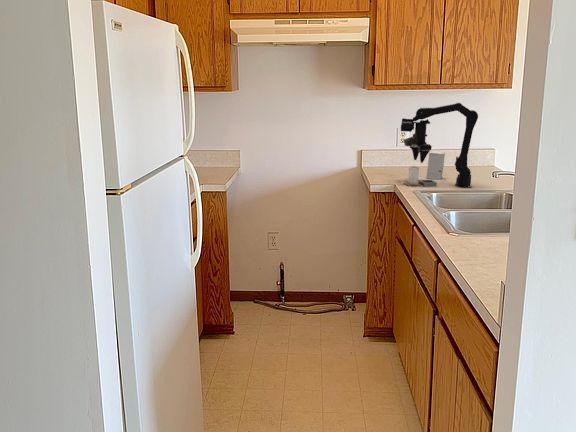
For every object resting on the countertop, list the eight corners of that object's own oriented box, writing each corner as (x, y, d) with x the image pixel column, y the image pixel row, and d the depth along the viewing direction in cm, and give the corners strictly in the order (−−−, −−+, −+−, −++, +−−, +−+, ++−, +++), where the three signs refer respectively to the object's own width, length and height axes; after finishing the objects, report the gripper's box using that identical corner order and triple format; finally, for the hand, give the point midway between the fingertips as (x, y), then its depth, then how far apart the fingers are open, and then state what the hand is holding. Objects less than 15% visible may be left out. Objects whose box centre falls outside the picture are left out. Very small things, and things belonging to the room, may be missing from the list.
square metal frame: (430, 183, 305) (430, 179, 304) (436, 186, 297) (436, 182, 296) (417, 183, 304) (418, 179, 303) (423, 186, 296) (423, 182, 295)
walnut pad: (416, 183, 303) (416, 182, 303) (421, 186, 296) (421, 184, 296) (404, 183, 302) (404, 182, 302) (408, 186, 295) (408, 185, 295)
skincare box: (426, 178, 319) (428, 152, 315) (428, 176, 324) (430, 151, 320) (441, 179, 315) (443, 153, 312) (443, 178, 321) (445, 152, 317)
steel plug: (415, 182, 301) (416, 166, 299) (417, 184, 297) (419, 167, 295) (408, 183, 300) (409, 166, 298) (410, 184, 297) (411, 167, 294)
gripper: (399, 130, 305) (398, 158, 309) (412, 134, 287) (410, 164, 291) (419, 130, 306) (417, 158, 310) (432, 134, 289) (430, 164, 292)
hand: (418, 161), depth 301 cm, fingers open, 9 cm apart
